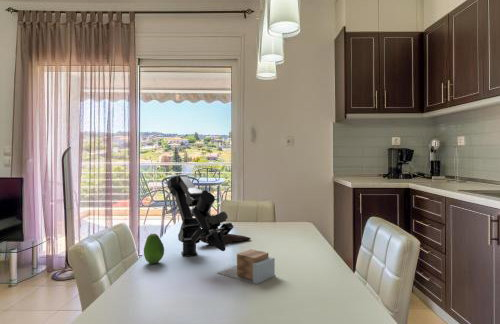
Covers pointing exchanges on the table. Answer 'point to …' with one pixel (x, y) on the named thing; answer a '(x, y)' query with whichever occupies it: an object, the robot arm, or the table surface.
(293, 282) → the table surface
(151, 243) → the fruit
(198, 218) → the robot arm
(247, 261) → the walnut block
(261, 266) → the gray angle bracket
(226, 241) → the stone
